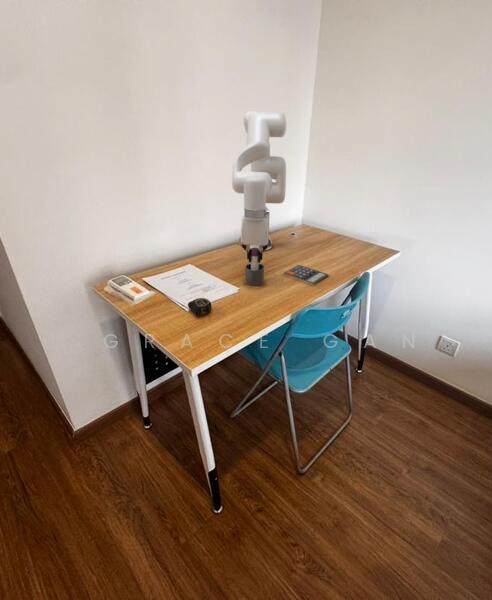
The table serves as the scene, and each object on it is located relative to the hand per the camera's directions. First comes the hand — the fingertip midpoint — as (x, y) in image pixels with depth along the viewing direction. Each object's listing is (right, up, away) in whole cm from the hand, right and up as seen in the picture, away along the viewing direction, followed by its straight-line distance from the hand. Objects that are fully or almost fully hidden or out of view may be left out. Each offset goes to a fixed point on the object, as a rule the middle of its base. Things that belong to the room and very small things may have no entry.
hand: (254, 260), depth 122 cm
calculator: (+21, -5, +13) cm, 25 cm away
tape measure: (-18, -19, -15) cm, 30 cm away
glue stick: (0, -7, +4) cm, 8 cm away
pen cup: (0, -9, +5) cm, 10 cm away
